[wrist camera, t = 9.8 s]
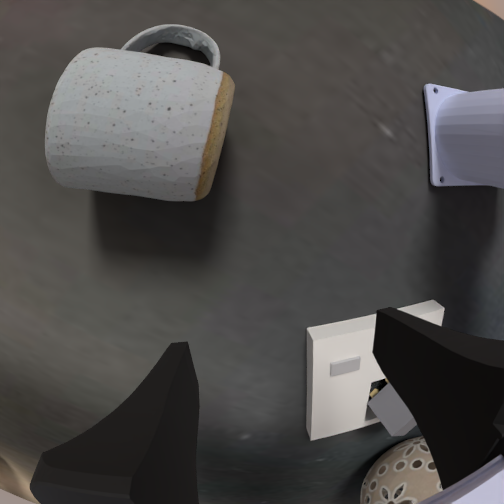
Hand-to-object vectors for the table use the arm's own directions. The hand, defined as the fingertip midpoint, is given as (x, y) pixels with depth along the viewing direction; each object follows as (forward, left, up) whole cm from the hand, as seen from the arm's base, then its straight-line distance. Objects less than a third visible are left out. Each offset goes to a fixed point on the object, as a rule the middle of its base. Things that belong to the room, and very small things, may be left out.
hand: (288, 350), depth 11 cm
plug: (-11, +14, -10) cm, 20 cm away
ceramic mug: (+5, -11, -11) cm, 16 cm away
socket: (-10, +12, -10) cm, 19 cm away
